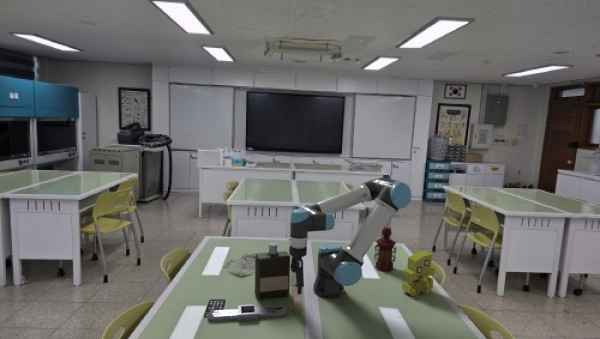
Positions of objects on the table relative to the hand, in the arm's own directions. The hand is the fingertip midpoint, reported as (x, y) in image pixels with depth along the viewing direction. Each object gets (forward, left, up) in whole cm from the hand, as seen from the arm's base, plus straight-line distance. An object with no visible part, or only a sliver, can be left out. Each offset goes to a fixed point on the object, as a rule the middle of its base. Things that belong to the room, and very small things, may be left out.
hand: (295, 293), depth 159 cm
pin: (0, 0, -9) cm, 9 cm away
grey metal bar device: (+21, +1, -9) cm, 22 cm away
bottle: (+9, -17, -9) cm, 21 cm away
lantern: (-58, -42, -9) cm, 72 cm away
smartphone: (+35, -7, -9) cm, 36 cm away
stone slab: (+18, -56, -9) cm, 60 cm away
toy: (-63, -12, -9) cm, 65 cm away
